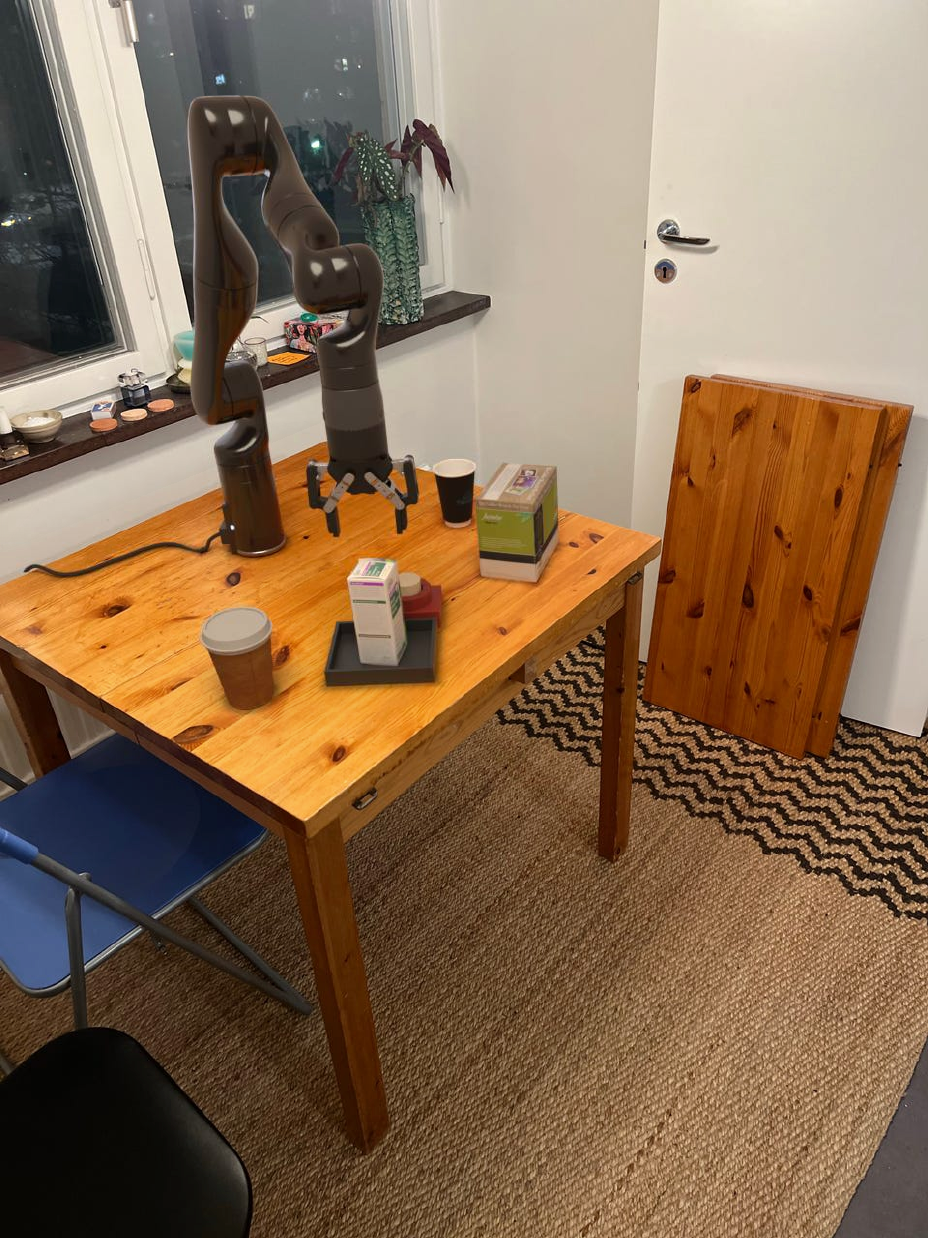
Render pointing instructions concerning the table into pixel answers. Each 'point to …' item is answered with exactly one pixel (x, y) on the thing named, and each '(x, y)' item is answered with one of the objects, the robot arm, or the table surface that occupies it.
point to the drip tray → (410, 669)
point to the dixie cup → (455, 490)
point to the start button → (409, 584)
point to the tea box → (517, 522)
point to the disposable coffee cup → (241, 654)
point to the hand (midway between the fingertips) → (368, 533)
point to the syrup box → (378, 611)
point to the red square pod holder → (424, 602)
